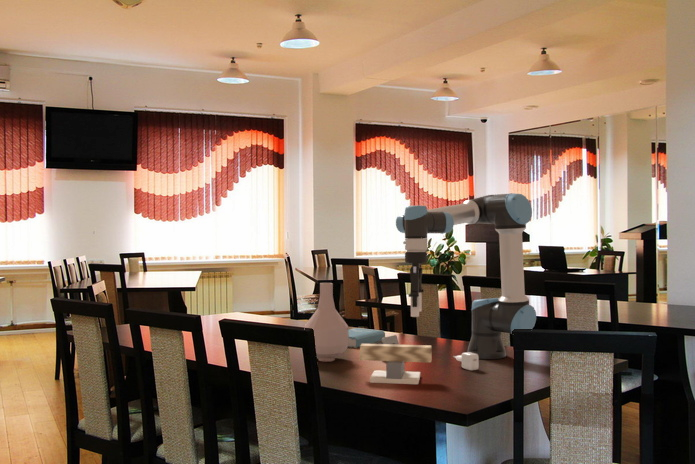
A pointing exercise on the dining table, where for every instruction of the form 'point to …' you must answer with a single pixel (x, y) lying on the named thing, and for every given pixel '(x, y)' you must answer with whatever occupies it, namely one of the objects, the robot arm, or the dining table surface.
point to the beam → (396, 352)
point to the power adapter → (468, 360)
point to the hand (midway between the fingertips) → (416, 314)
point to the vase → (328, 326)
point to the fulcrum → (395, 374)
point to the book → (364, 336)
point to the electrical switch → (389, 340)
